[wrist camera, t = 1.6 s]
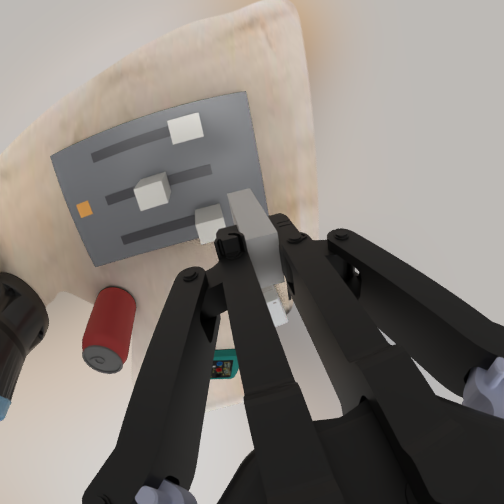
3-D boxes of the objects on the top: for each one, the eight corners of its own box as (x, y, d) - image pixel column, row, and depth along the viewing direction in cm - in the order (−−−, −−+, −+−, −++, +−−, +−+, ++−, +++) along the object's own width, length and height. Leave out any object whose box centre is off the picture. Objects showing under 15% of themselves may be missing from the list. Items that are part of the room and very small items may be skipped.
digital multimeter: (235, 369, 52) (237, 380, 50) (162, 370, 49) (162, 381, 46) (238, 346, 49) (241, 358, 46) (158, 346, 45) (158, 359, 43)
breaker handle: (146, 198, 29) (140, 211, 26) (140, 179, 28) (133, 189, 25) (171, 191, 29) (168, 202, 26) (165, 171, 28) (161, 180, 25)
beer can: (92, 287, 36) (69, 344, 26) (129, 282, 37) (115, 343, 27) (106, 318, 40) (91, 376, 29) (141, 315, 41) (133, 375, 30)
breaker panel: (99, 258, 34) (86, 286, 29) (58, 152, 26) (32, 164, 20) (264, 212, 36) (279, 235, 30) (242, 92, 28) (254, 88, 22)
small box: (236, 291, 42) (241, 313, 38) (271, 277, 42) (279, 297, 38) (249, 315, 45) (255, 336, 41) (281, 302, 45) (290, 322, 41)
